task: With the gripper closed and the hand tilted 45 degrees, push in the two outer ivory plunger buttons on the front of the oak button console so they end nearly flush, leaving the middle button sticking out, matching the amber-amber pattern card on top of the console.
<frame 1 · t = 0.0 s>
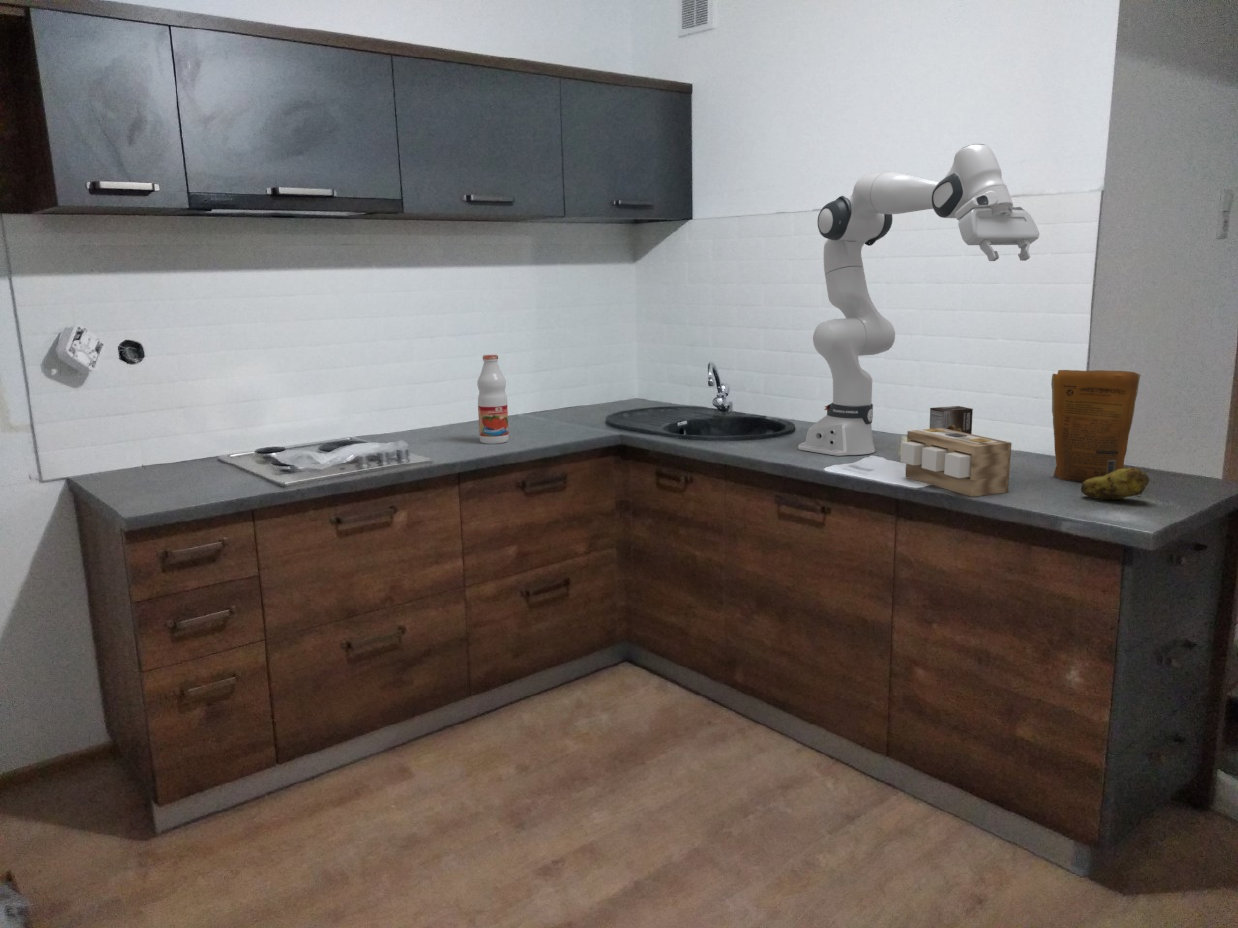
hand: (1010, 259, 209), 54 cm above the counter, tool tilted 30°, fingers open, 8 cm apart
fruit juice: (494, 442, 297), on the counter
console: (953, 484, 227), on the counter
button middle: (943, 457, 224), point 7 cm above the counter, slide at 0.0 cm
button 1: (921, 452, 232), point 7 cm above the counter, slide at 0.0 cm
button 2: (967, 463, 217), point 7 cm above the counter, slide at 0.0 cm
potato: (1113, 501, 209), on the counter
coffee box: (948, 467, 247), on the counter
pancake mix bag: (1086, 482, 227), on the counter
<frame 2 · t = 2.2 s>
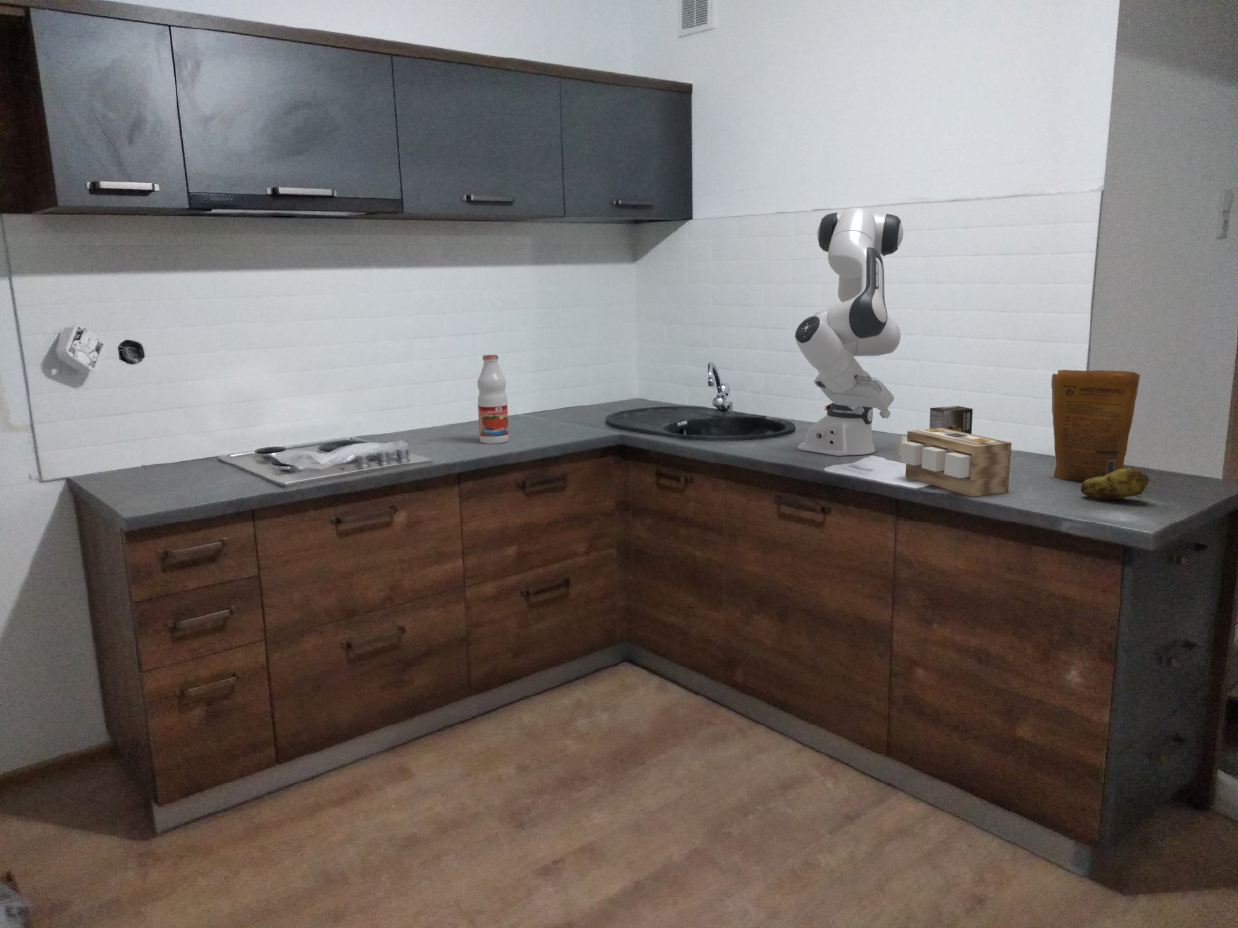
hand: (873, 414, 222), 18 cm above the counter, tool tilted 45°, fingers open, 8 cm apart
nothing on the counter moved.
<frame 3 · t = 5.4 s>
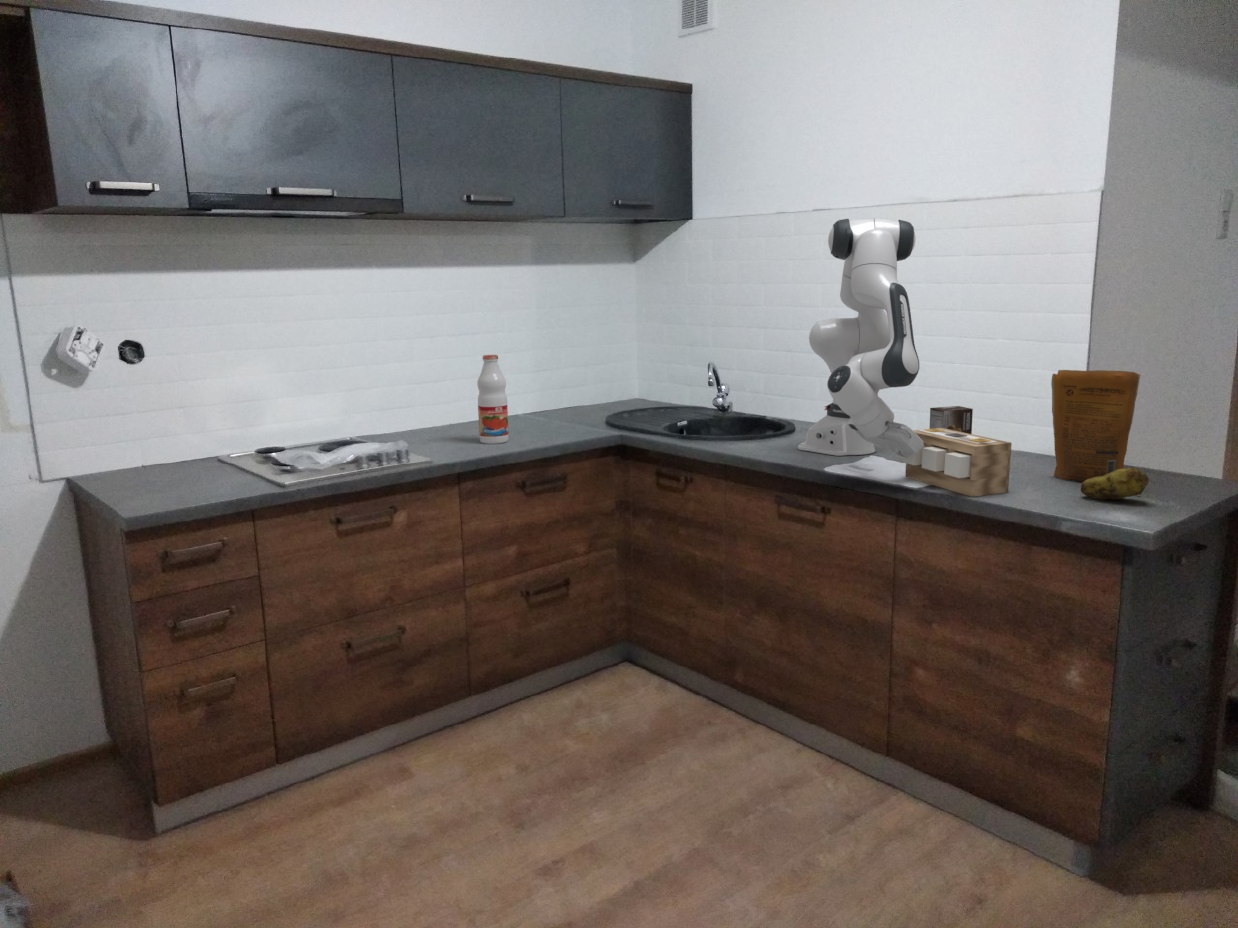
hand: (905, 455, 230), 7 cm above the counter, tool tilted 45°, fingers closed, pressing on button 1
button 1: (922, 452, 232), point 7 cm above the counter, slide at 0.1 cm, touching gripper
everything else where it was.
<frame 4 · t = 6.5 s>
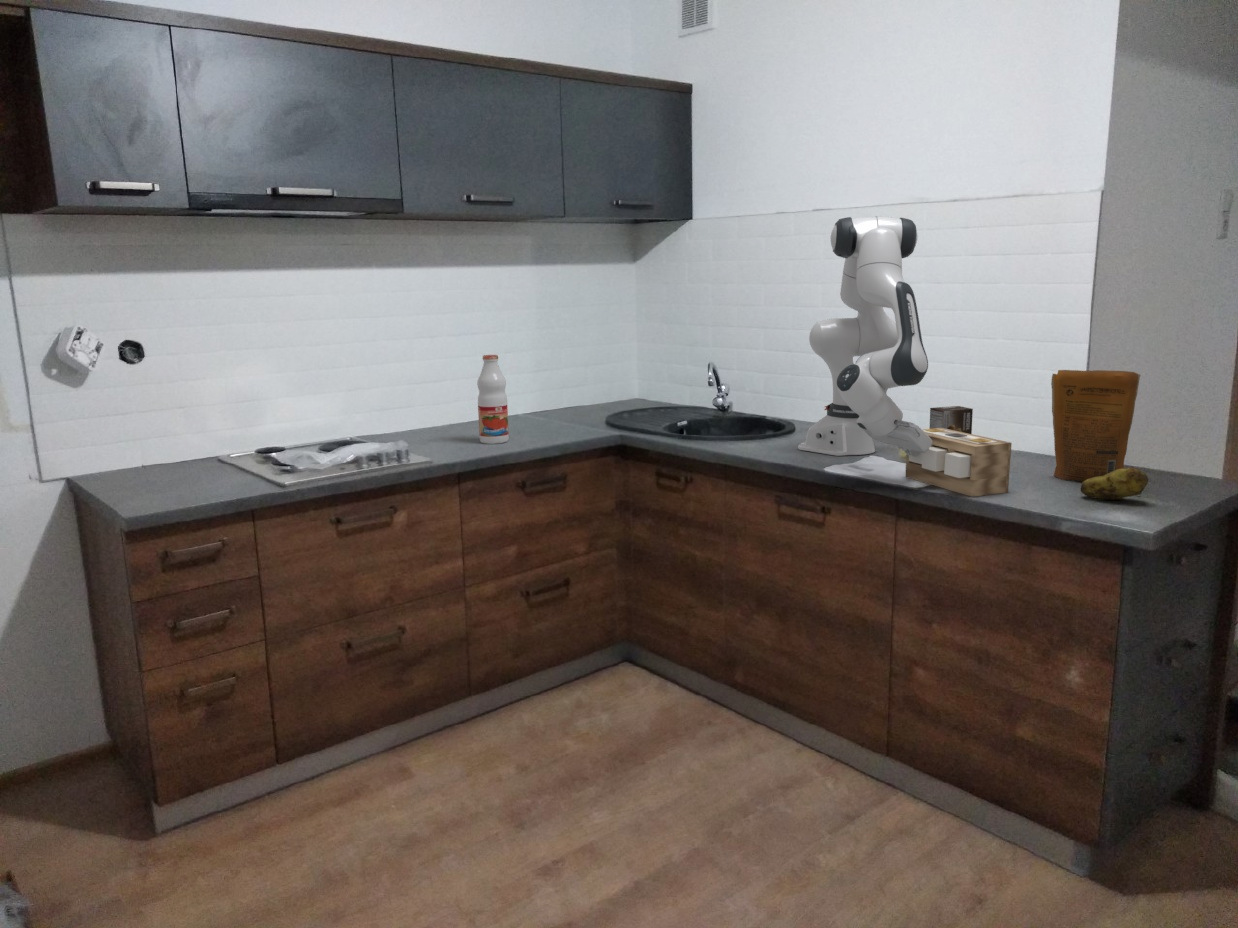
hand: (913, 453, 231), 7 cm above the counter, tool tilted 45°, fingers closed
button 1: (930, 451, 233), point 7 cm above the counter, slide at 2.6 cm
everything else where it was.
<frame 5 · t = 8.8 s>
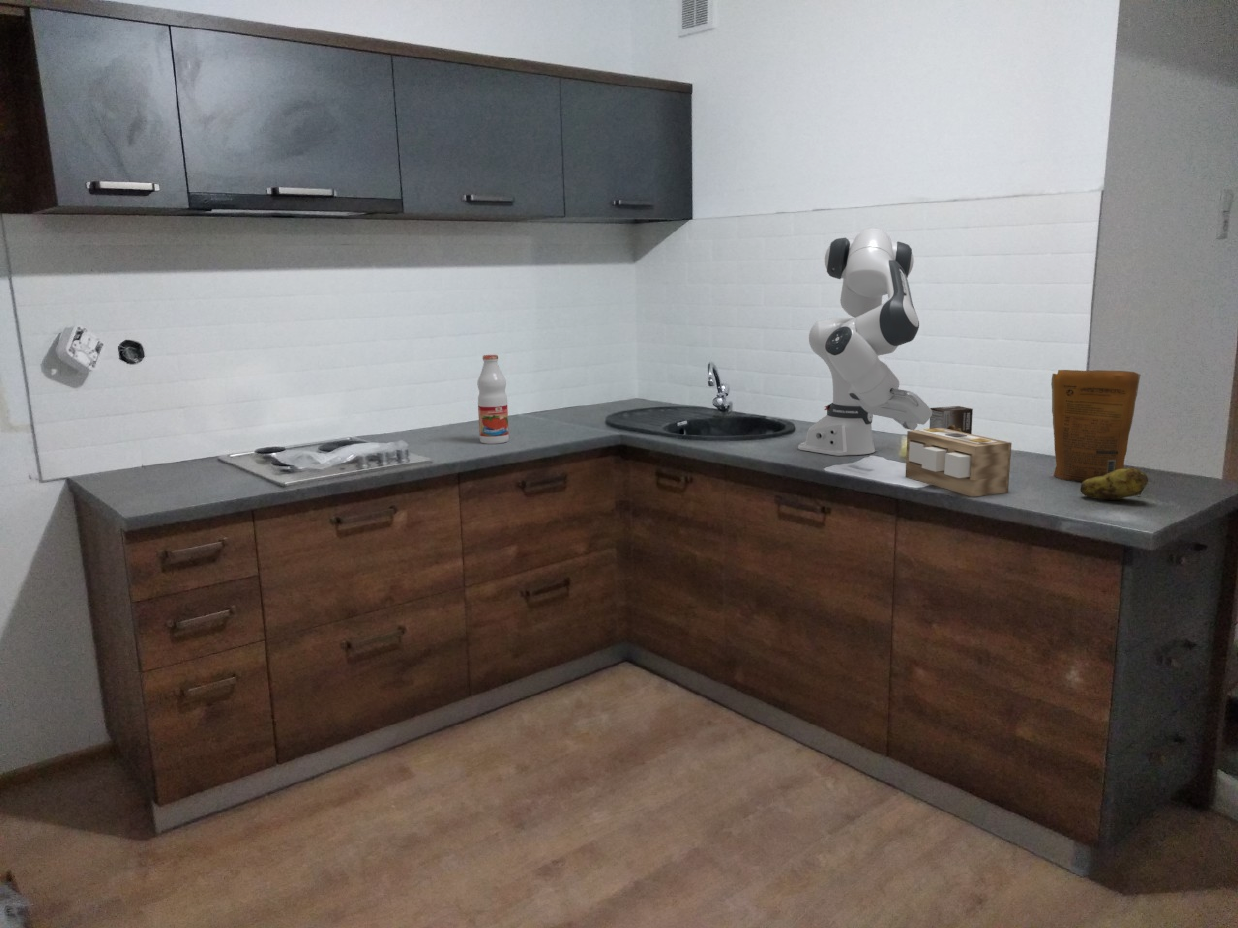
hand: (911, 427, 209), 17 cm above the counter, tool tilted 45°, fingers closed
nothing on the counter moved.
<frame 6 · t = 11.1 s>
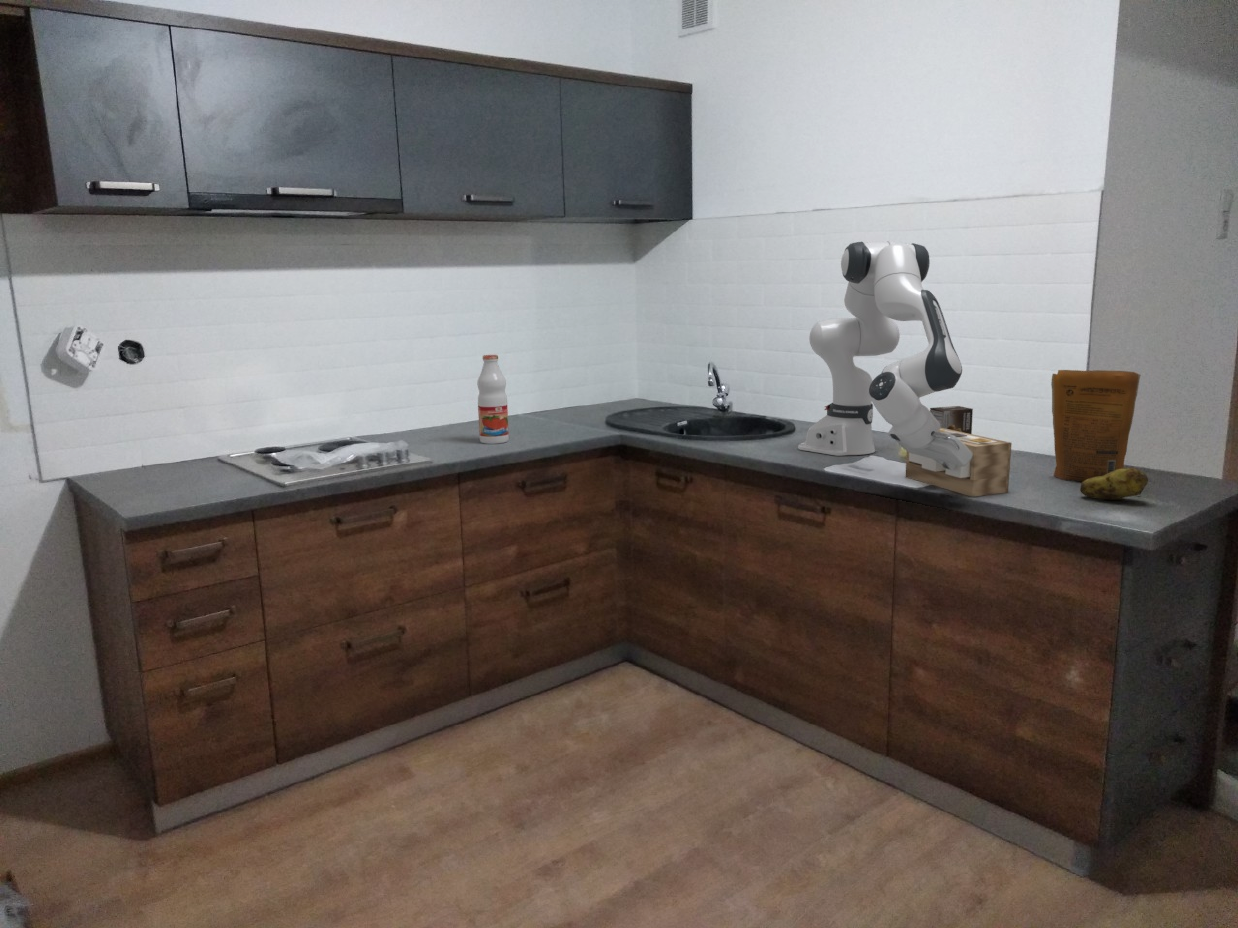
hand: (950, 466, 216), 7 cm above the counter, tool tilted 45°, fingers closed, pressing on button 2
button 2: (968, 463, 217), point 7 cm above the counter, slide at 0.4 cm, touching gripper
everything else where it was.
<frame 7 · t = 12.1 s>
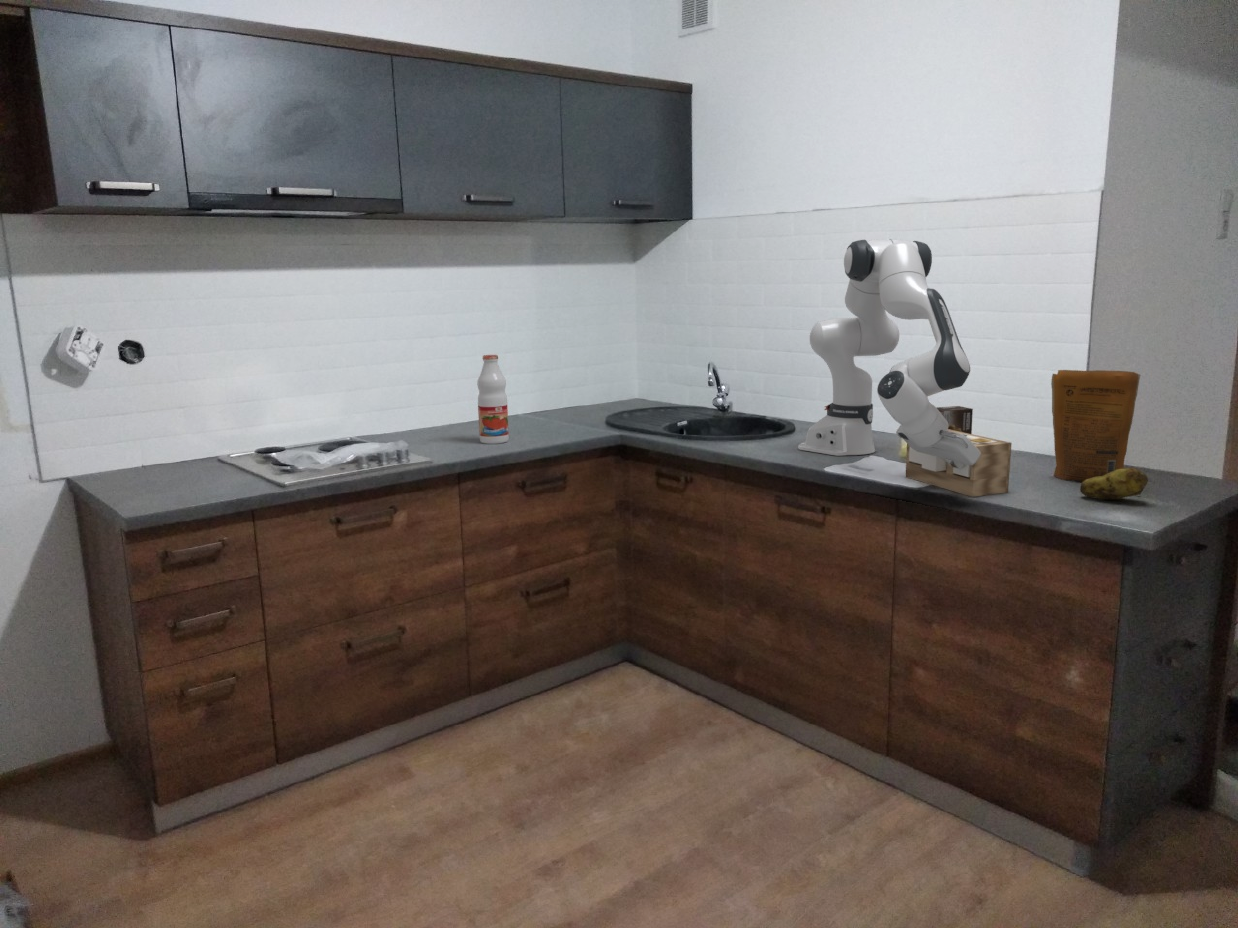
hand: (958, 465, 216), 7 cm above the counter, tool tilted 45°, fingers closed
button 2: (975, 462, 218), point 7 cm above the counter, slide at 2.6 cm
everything else where it was.
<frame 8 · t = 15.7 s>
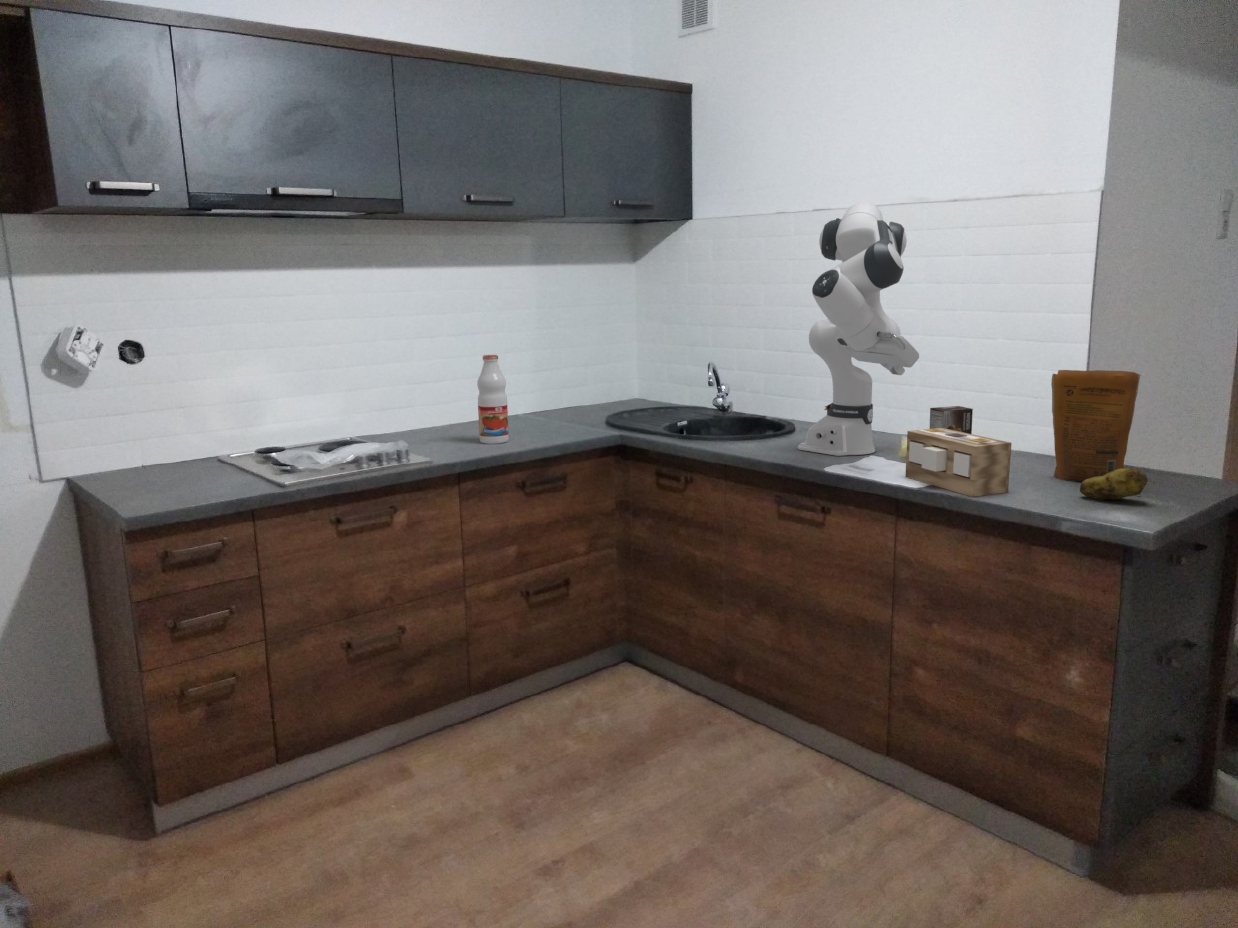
hand: (899, 372, 210), 29 cm above the counter, tool tilted 45°, fingers closed
nothing on the counter moved.
at the end: button 1 slide at 2.6 cm; button 2 slide at 2.6 cm; button middle slide at 0.0 cm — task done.
